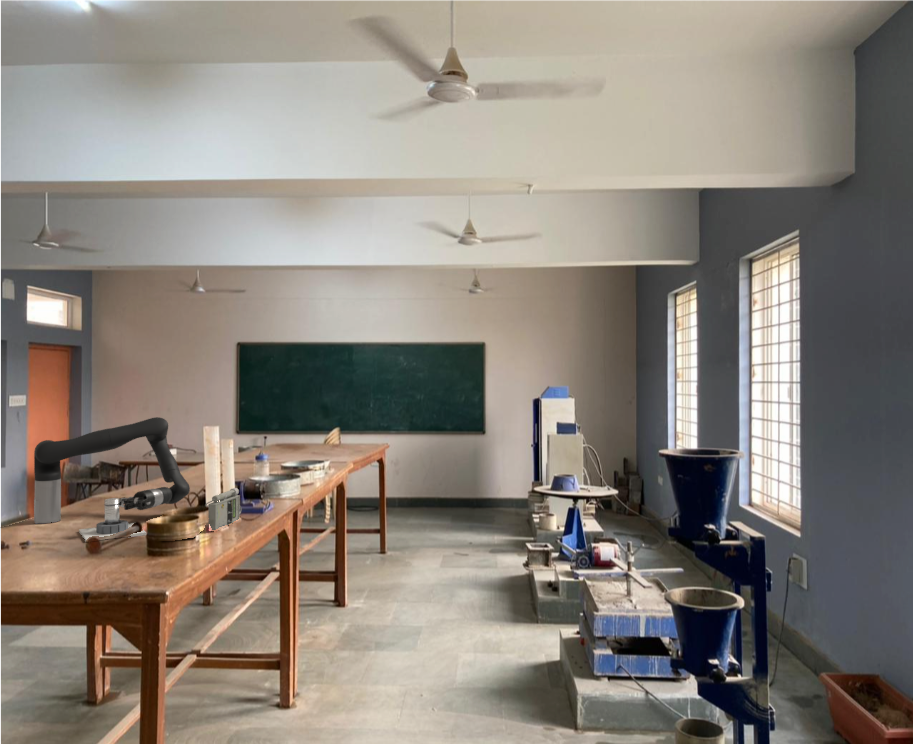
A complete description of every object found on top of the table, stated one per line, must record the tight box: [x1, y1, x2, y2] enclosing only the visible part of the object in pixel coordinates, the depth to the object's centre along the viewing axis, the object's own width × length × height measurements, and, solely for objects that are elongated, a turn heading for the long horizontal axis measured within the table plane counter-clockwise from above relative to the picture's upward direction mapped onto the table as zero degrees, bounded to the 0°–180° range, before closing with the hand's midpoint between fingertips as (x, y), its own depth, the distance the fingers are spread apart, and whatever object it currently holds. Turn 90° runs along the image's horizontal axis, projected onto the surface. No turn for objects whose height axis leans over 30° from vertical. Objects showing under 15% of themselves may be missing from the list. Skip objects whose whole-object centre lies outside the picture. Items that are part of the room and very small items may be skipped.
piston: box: [103, 497, 121, 525], centre depth 255 cm, size 5×5×12 cm
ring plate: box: [78, 519, 147, 542], centre depth 255 cm, size 20×20×4 cm
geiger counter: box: [204, 487, 242, 530], centre depth 270 cm, size 14×6×25 cm
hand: (116, 506), depth 257 cm, fingers open, 8 cm apart
